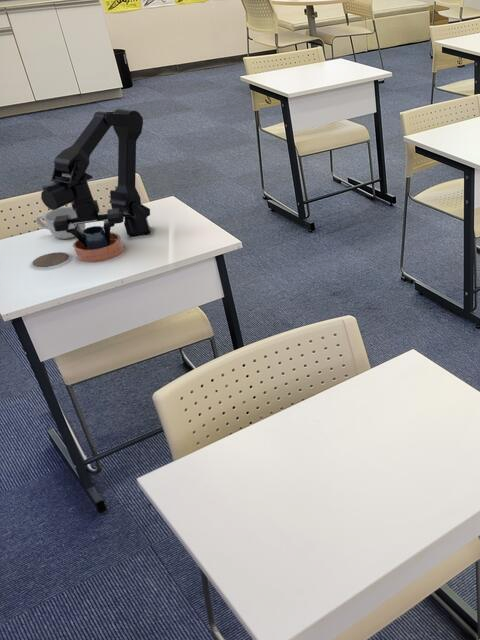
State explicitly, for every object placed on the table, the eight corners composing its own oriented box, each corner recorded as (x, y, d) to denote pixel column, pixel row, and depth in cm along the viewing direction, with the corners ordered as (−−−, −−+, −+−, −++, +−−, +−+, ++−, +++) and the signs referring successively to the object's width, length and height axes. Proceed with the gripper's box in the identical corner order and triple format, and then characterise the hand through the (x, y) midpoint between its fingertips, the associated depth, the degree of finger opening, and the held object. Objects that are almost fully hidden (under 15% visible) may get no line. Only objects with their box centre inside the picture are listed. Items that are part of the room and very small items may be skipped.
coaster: (71, 252, 218) (70, 250, 218) (67, 265, 211) (67, 264, 210) (35, 257, 215) (35, 255, 215) (30, 271, 208) (30, 269, 207)
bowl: (125, 242, 224) (121, 229, 221) (123, 259, 214) (118, 246, 211) (80, 248, 220) (75, 235, 218) (75, 266, 210) (70, 253, 207)
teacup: (95, 229, 232) (87, 206, 227) (76, 243, 223) (68, 220, 219) (55, 228, 233) (47, 205, 229) (35, 242, 224) (26, 218, 220)
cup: (111, 246, 220) (104, 224, 215) (110, 255, 215) (102, 232, 211) (91, 249, 218) (83, 227, 214) (89, 258, 213) (81, 235, 209)
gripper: (117, 183, 215) (131, 230, 224) (50, 192, 210) (68, 239, 219) (114, 196, 206) (130, 244, 215) (45, 205, 201) (63, 254, 210)
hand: (98, 245), depth 215 cm, fingers closed on cup, 6 cm apart
